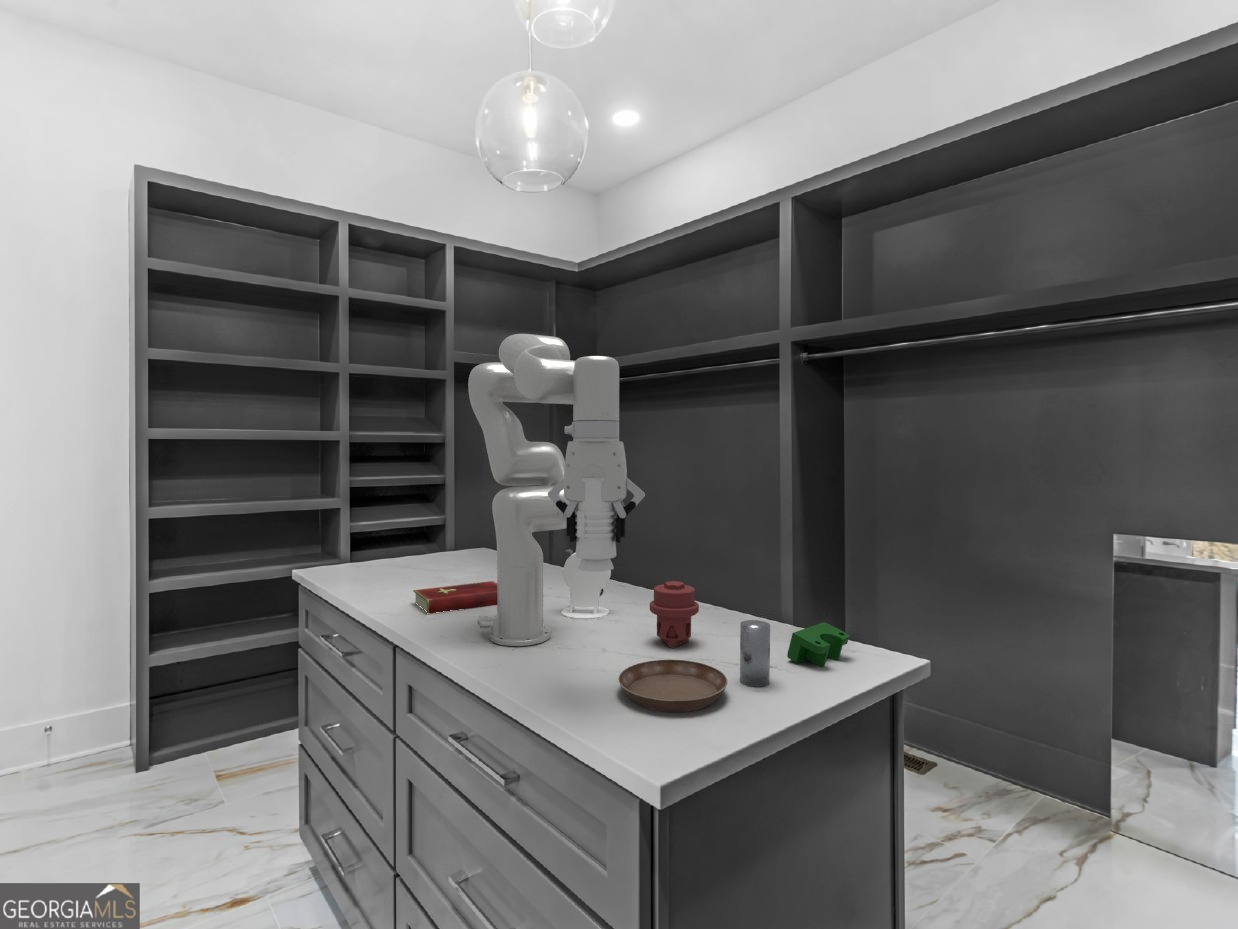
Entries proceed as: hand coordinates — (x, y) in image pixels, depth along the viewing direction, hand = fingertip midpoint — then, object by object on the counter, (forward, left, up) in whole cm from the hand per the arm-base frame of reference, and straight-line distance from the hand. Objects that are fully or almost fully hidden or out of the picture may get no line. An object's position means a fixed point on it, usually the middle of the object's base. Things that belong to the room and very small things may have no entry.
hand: (596, 540), depth 107 cm
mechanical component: (+13, +26, -25) cm, 38 cm away
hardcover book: (-41, +53, -26) cm, 71 cm away
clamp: (+40, +19, -25) cm, 51 cm away
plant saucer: (+13, -1, -25) cm, 28 cm away
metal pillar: (+27, +6, -25) cm, 37 cm away
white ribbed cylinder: (0, 0, -5) cm, 5 cm away
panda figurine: (-8, +47, -25) cm, 54 cm away
